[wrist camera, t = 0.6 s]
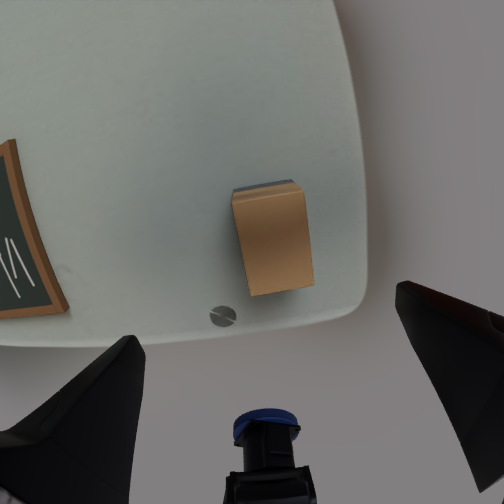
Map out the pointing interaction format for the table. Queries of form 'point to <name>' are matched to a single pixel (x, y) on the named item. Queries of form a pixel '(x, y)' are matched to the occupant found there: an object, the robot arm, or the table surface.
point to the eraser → (273, 236)
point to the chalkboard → (22, 249)
